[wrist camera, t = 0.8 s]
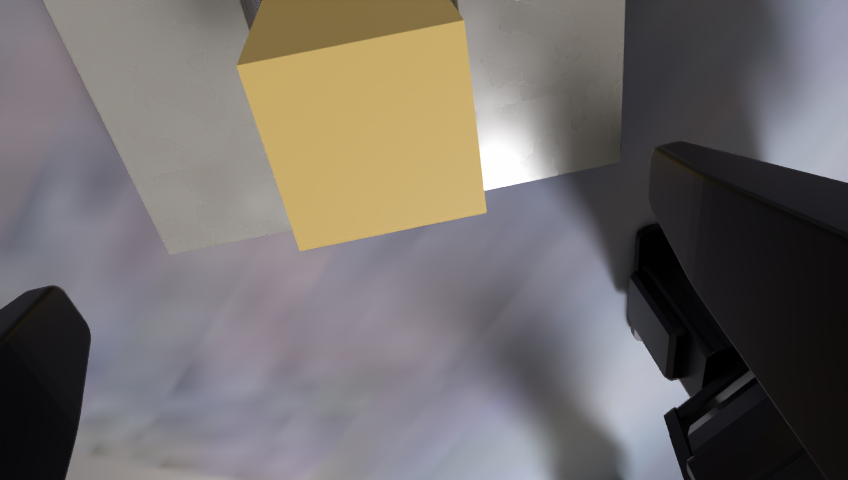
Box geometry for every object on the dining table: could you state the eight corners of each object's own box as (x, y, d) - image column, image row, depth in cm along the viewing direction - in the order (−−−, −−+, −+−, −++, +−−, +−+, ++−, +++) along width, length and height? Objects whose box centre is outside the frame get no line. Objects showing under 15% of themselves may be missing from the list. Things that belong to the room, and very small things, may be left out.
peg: (405, -65, 19) (463, 20, 11) (425, 62, 21) (486, 212, 13) (277, -39, 19) (236, 65, 10) (311, 85, 21) (299, 250, 13)
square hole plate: (596, -268, 17) (634, -282, 14) (594, 133, 23) (620, 162, 21) (12, -155, 16) (-34, -153, 14) (183, 217, 23) (169, 255, 21)
